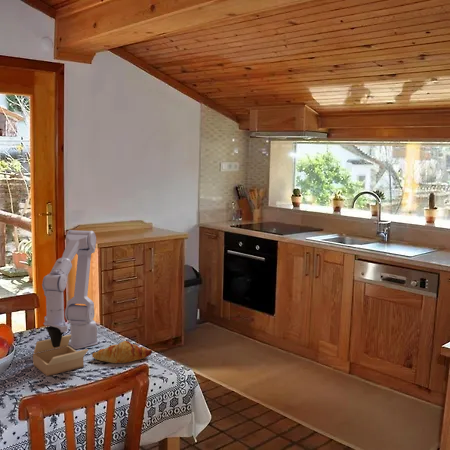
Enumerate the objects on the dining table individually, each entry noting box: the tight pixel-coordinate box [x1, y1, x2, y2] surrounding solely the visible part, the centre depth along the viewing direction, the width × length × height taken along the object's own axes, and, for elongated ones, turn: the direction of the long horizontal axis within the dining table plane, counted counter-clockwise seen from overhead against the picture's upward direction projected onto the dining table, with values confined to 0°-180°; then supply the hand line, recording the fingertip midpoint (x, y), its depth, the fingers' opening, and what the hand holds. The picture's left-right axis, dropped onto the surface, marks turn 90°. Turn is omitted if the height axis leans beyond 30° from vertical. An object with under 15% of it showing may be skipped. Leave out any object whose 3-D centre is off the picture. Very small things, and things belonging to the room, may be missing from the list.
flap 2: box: [48, 348, 89, 366], centre depth 182 cm, size 12×6×1 cm
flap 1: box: [33, 334, 71, 354], centre depth 191 cm, size 12×6×1 cm
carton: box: [32, 345, 85, 377], centre depth 189 cm, size 13×12×4 cm
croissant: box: [91, 340, 153, 364], centre depth 196 cm, size 21×10×8 cm, turn 99°
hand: (56, 346), depth 189 cm, fingers closed
